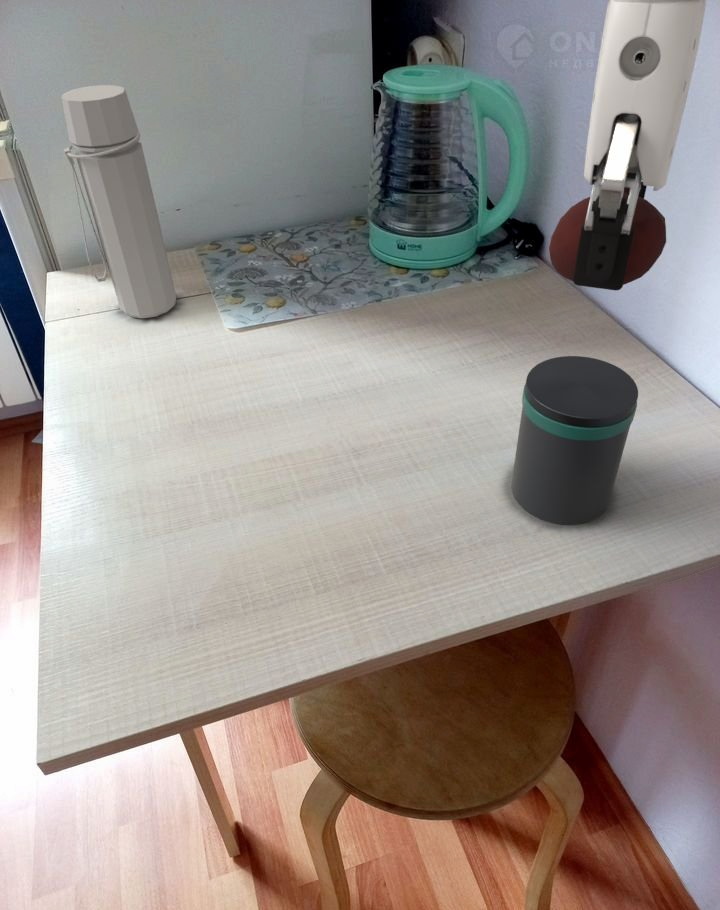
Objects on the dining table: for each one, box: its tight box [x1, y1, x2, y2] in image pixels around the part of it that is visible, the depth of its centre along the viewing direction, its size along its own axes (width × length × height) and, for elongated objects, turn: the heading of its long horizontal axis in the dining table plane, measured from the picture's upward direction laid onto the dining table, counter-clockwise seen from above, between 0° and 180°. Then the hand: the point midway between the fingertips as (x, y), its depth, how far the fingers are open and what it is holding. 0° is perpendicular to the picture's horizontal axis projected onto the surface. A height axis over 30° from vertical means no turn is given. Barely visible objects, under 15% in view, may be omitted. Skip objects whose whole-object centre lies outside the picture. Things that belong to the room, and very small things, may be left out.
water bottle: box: [61, 84, 177, 319], centre depth 82 cm, size 9×8×25 cm
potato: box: [548, 193, 667, 286], centre depth 49 cm, size 7×8×6 cm
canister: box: [511, 355, 639, 526], centre depth 58 cm, size 9×9×11 cm
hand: (606, 257), depth 50 cm, fingers closed on potato, 8 cm apart
